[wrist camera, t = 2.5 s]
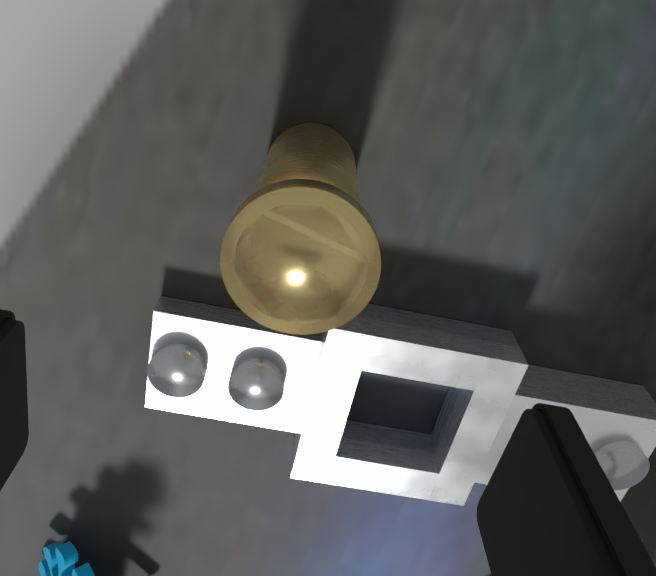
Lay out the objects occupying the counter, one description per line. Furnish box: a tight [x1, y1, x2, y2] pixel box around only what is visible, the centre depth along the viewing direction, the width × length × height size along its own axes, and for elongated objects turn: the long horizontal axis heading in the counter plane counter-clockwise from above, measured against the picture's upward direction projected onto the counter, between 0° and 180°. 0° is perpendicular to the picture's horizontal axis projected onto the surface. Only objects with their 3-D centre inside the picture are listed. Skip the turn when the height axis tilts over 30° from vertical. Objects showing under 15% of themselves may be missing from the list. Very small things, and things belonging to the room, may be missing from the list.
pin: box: [220, 123, 381, 335], centre depth 22 cm, size 5×5×10 cm
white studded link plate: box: [145, 296, 656, 506], centre depth 31 cm, size 26×10×4 cm, turn 78°
